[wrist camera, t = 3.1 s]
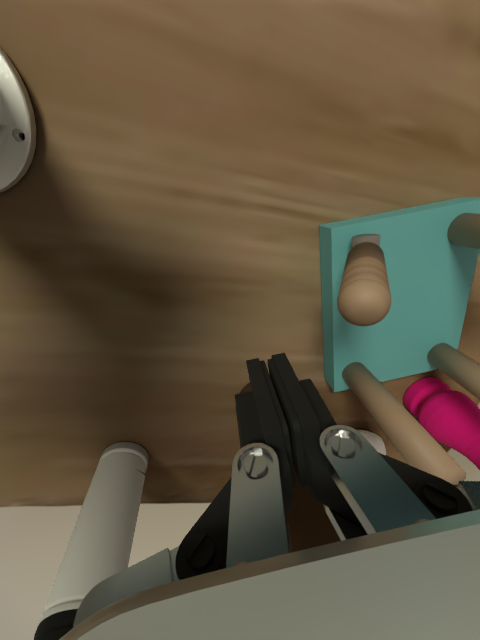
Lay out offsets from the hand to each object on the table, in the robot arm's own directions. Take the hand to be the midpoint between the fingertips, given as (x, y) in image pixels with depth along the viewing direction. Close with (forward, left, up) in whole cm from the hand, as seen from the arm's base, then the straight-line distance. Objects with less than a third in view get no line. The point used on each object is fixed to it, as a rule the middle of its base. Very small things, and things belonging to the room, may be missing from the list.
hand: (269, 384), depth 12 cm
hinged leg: (0, +13, -16) cm, 20 cm away
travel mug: (+23, -19, -20) cm, 36 cm away
